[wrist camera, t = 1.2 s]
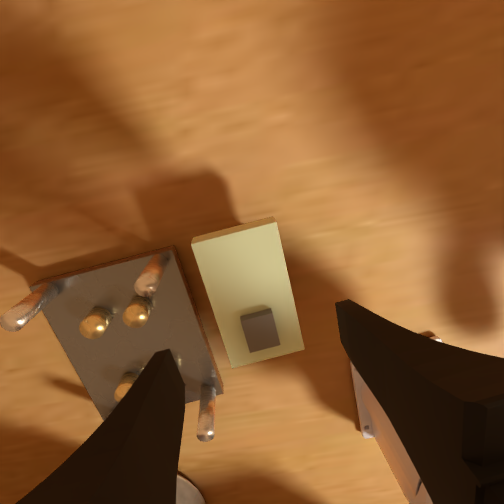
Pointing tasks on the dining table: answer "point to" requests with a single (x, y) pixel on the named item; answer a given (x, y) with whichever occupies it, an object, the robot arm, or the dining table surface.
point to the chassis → (127, 328)
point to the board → (249, 291)
